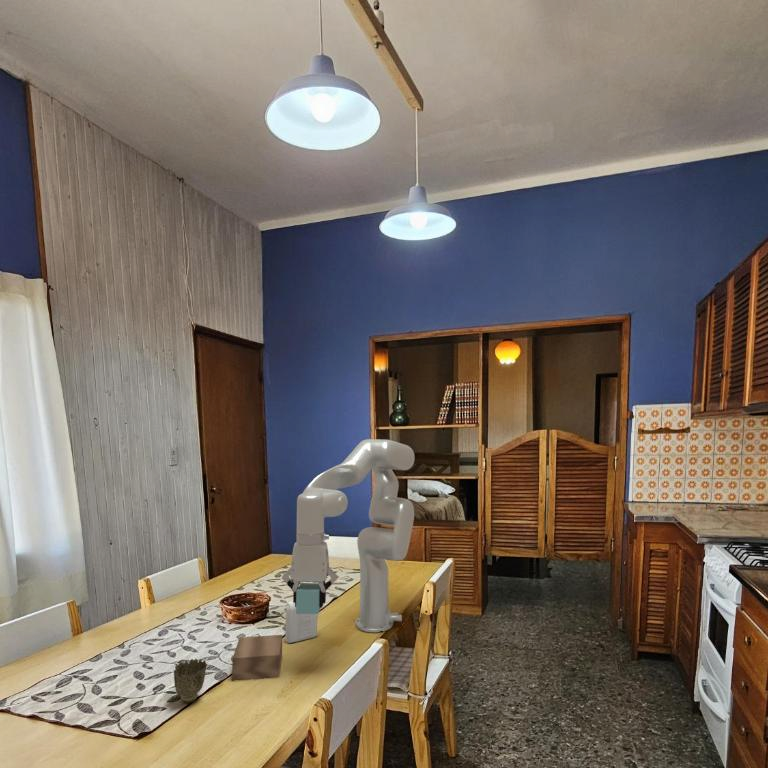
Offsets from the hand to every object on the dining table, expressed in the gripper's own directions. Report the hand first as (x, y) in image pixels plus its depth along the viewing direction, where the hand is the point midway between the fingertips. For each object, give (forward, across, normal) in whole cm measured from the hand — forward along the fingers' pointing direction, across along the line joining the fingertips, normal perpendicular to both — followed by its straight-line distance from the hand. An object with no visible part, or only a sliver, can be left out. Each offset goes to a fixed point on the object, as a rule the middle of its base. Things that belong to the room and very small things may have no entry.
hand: (309, 604), depth 130 cm
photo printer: (+18, +6, -19) cm, 26 cm away
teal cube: (+1, 0, 0) cm, 1 cm away
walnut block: (+17, +14, -1) cm, 23 cm away
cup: (+17, +26, +15) cm, 35 cm away
